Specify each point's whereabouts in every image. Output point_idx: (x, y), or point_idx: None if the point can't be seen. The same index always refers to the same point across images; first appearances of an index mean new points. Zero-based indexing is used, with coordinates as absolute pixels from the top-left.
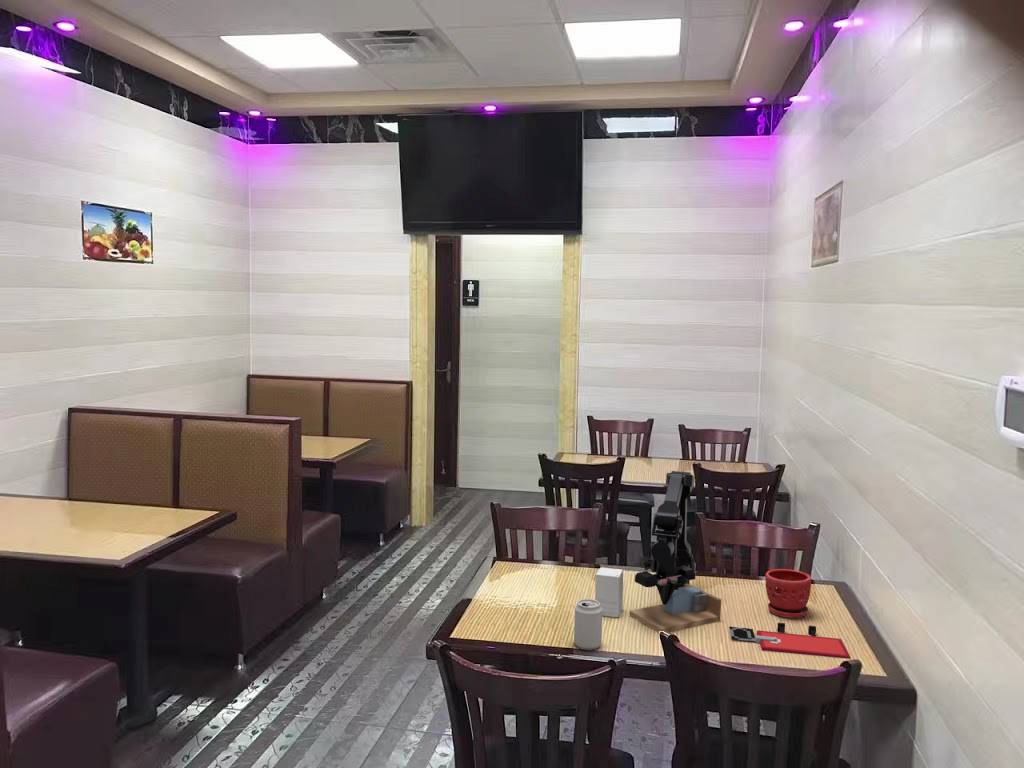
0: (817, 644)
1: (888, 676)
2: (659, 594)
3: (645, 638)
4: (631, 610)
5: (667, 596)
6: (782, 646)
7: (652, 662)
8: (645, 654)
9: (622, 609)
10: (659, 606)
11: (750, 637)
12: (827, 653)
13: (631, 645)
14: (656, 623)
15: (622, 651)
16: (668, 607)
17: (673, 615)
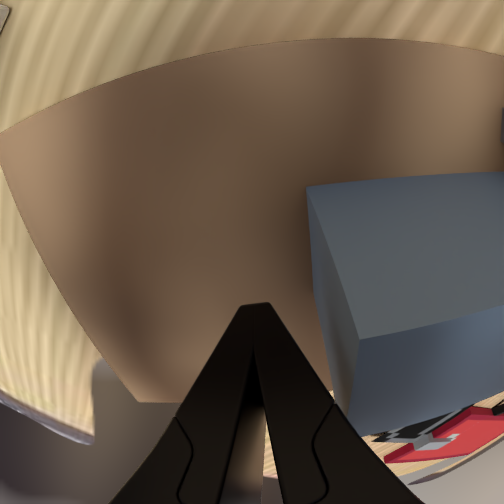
0: (480, 439)
1: (443, 471)
2: (186, 397)
3: (71, 379)
4: (3, 133)
5: (261, 449)
6: (425, 455)
7: (84, 443)
8: (69, 425)
9: (5, 17)
10: (314, 82)
11: (423, 432)
12: (456, 455)
13: (30, 388)
14: (126, 362)
15: (14, 395)
16: (318, 271)
17: (306, 306)
